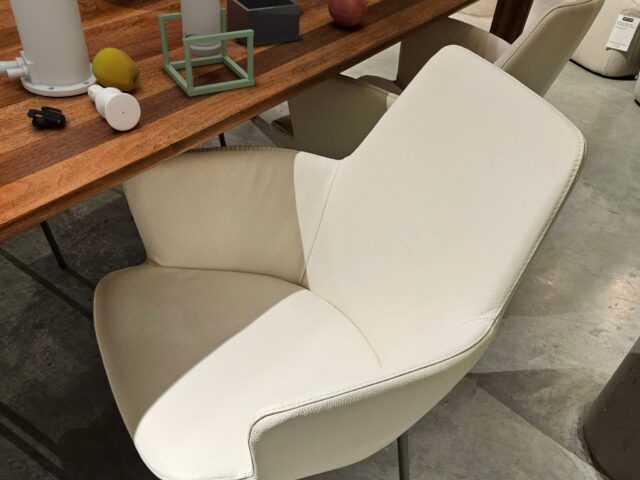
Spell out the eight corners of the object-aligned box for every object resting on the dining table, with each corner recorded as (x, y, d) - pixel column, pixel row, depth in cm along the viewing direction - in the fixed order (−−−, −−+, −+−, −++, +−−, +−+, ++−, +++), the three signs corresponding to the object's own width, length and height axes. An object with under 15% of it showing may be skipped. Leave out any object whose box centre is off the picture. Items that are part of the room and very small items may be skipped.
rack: (189, 96, 97) (184, 40, 90) (163, 68, 104) (157, 14, 97) (254, 85, 102) (254, 31, 95) (225, 59, 109) (223, 7, 102)
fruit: (320, 21, 126) (324, -31, 119) (354, 19, 129) (359, -32, 122) (336, 35, 121) (341, -19, 114) (370, 32, 124) (377, -21, 117)
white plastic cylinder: (100, 125, 84) (72, 102, 92) (135, 134, 88) (105, 112, 95) (110, 88, 82) (81, 68, 90) (145, 100, 86) (114, 79, 94)
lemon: (153, 75, 98) (115, 49, 98) (138, 57, 91) (97, 30, 92) (131, 107, 98) (93, 81, 98) (115, 91, 91) (75, 64, 92)
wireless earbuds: (63, 123, 84) (24, 113, 82) (61, 140, 85) (23, 130, 83) (67, 109, 89) (31, 99, 87) (65, 125, 90) (29, 116, 88)
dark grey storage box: (247, 47, 113) (247, 10, 109) (227, 30, 119) (226, -5, 114) (298, 40, 118) (300, 4, 113) (277, 24, 123) (277, -11, 119)
